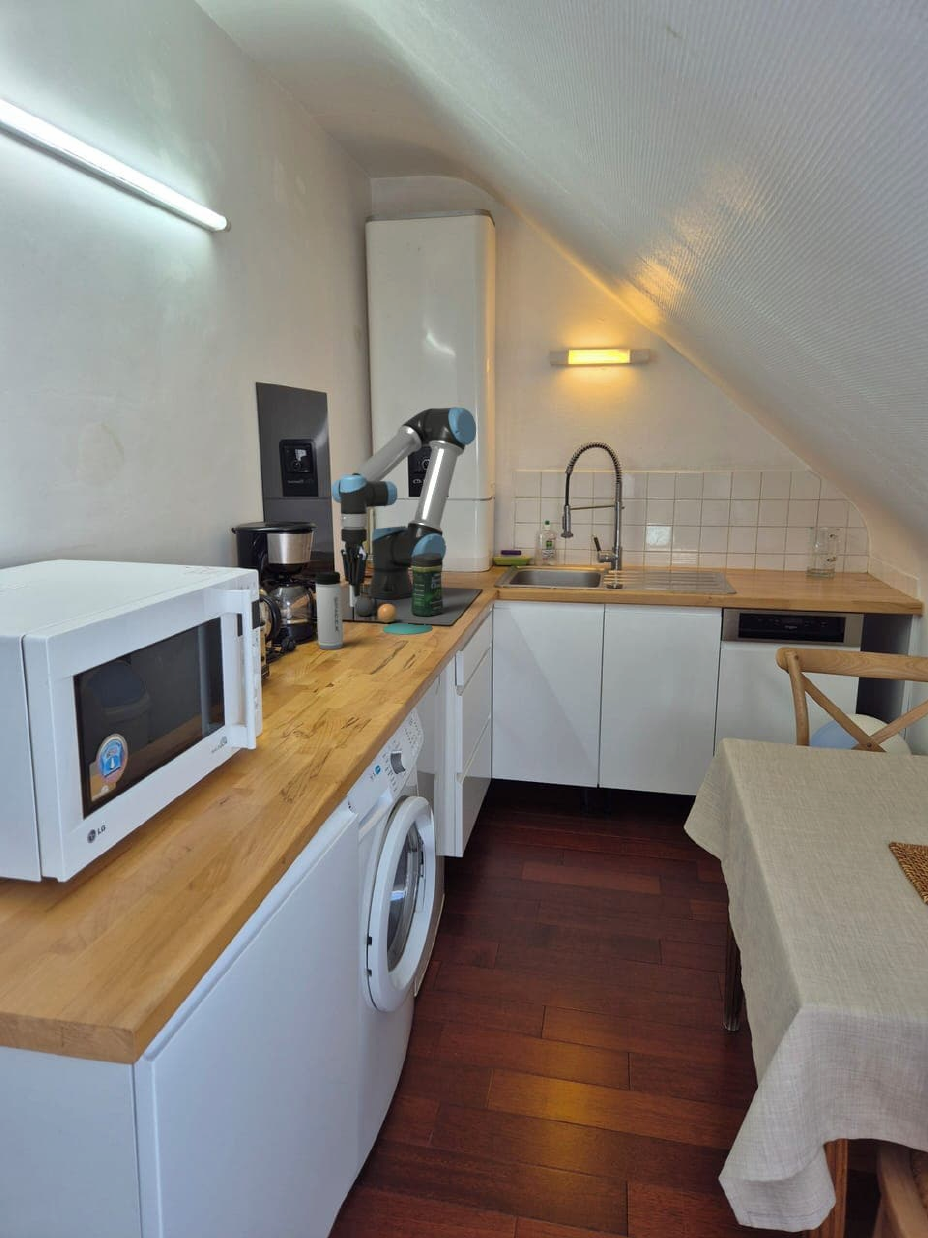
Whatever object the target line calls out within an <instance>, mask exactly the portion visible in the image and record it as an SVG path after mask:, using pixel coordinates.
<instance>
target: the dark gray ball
mask: <svg viewBox="0 0 928 1238" xmlns="http://www.w3.org/2000/svg"><path fill="white" fill-rule="evenodd" d="M354 609H355V612H356V613H357V614H358V615H359V616H361V617H367V616H369V615H370V614H372V613H373V610H374V603H373V601H372V600H371V599H370V598H368V597H360V599H359V600H357V602H356V604H355V607H354Z"/></svg>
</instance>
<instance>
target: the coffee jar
mask: <svg viewBox="0 0 928 1238" xmlns="http://www.w3.org/2000/svg"><path fill="white" fill-rule="evenodd" d="M443 566H444V564H443V560H442V556H441V555H440V554H438V553H423V554H418V555H414V556H413V557H412V560H411V567H410V569H411V572H412V586H413V588H412V596H411V608H410V609H411V612H410V613H411V614H412V615H414V614H415V615H414V616H416V615H419V616H418V617H424V616H425V617H431V615H433V616H436V615H439V614H442V613H443V612H444V604H443V603H444V602H443V601H444V600H443V591H442V590H443V589H442V573H443V572H442V571H443Z"/></svg>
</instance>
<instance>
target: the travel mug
mask: <svg viewBox="0 0 928 1238" xmlns="http://www.w3.org/2000/svg"><path fill="white" fill-rule="evenodd" d="M313 574H315V592H316V593H315V594H316V598H315V599H316V617H317V618H316V619H317V637H318V638H317V640H318V648H319V649H320V650H324V651H329V650H330V651H332V650H333V651H334V650H339V649H342V648H343V647H344V631H343V630H344V629H343V626H344V625H343V607H342V606H343V604H342V584H341V583H342V582H341V574H340V572H338V571H335V570H328V569H314V570H313Z"/></svg>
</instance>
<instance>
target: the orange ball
mask: <svg viewBox="0 0 928 1238" xmlns="http://www.w3.org/2000/svg"><path fill="white" fill-rule="evenodd" d="M397 614H398V611H397V608H396V607H395V606H394V605H393V604H391V603H384V604H382V605H380V606H379V608H378V610H377V617H378V619H379V620H380V622H382V623H386V624H389V622H390V623H392V622H394V621H395V620H396V618H397Z"/></svg>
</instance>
